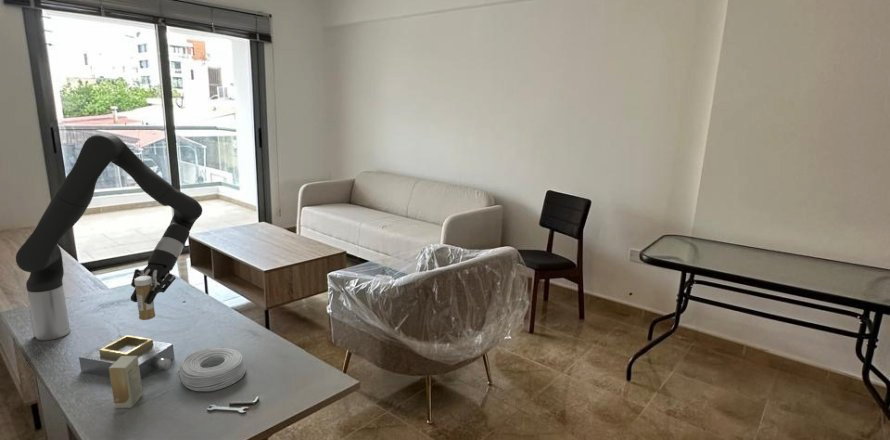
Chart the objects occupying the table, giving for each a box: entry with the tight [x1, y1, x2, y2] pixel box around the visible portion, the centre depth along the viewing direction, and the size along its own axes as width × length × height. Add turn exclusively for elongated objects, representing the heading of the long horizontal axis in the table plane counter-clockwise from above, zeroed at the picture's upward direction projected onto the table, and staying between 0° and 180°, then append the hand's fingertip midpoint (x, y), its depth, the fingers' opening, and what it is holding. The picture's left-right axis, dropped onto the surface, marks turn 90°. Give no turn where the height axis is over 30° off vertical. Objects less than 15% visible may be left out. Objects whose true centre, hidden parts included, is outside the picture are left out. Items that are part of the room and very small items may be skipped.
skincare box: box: [109, 356, 144, 409], centre depth 128 cm, size 6×4×12 cm
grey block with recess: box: [78, 334, 175, 381], centre depth 145 cm, size 24×14×7 cm, turn 78°
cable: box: [177, 347, 247, 392], centre depth 142 cm, size 18×18×6 cm
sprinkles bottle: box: [134, 276, 156, 321], centre depth 149 cm, size 5×5×14 cm
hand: (140, 302), depth 148 cm, fingers closed on sprinkles bottle, 4 cm apart
